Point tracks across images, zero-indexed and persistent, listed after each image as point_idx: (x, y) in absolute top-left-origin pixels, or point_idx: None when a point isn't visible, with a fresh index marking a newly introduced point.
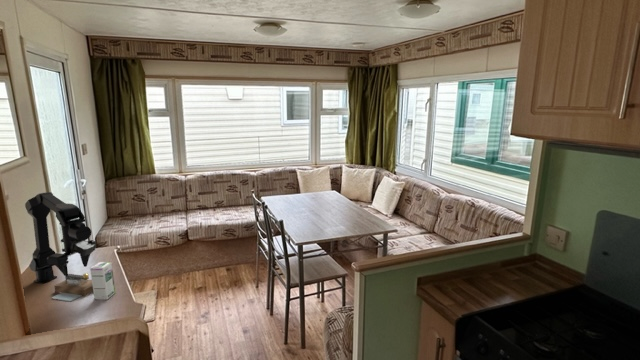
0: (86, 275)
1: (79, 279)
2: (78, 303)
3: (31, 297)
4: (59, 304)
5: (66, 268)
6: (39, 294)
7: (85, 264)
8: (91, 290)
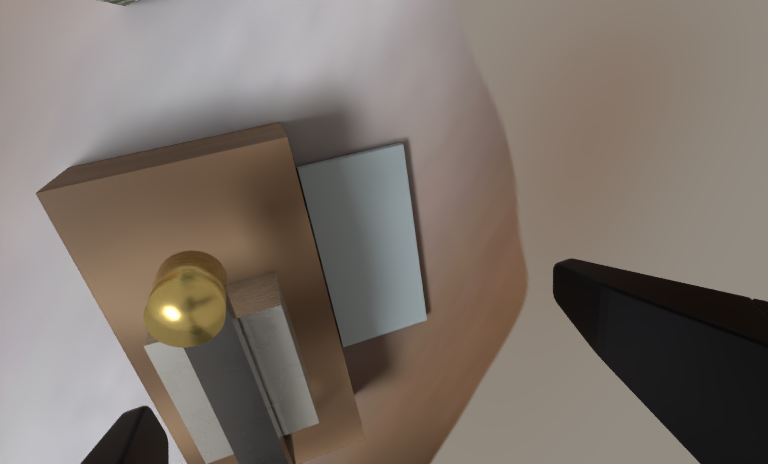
0: (191, 279)
1: (245, 332)
2: (393, 43)
3: (453, 421)
4: (458, 182)
5: (744, 321)
6: (413, 428)
7: (139, 451)
8: (198, 144)
